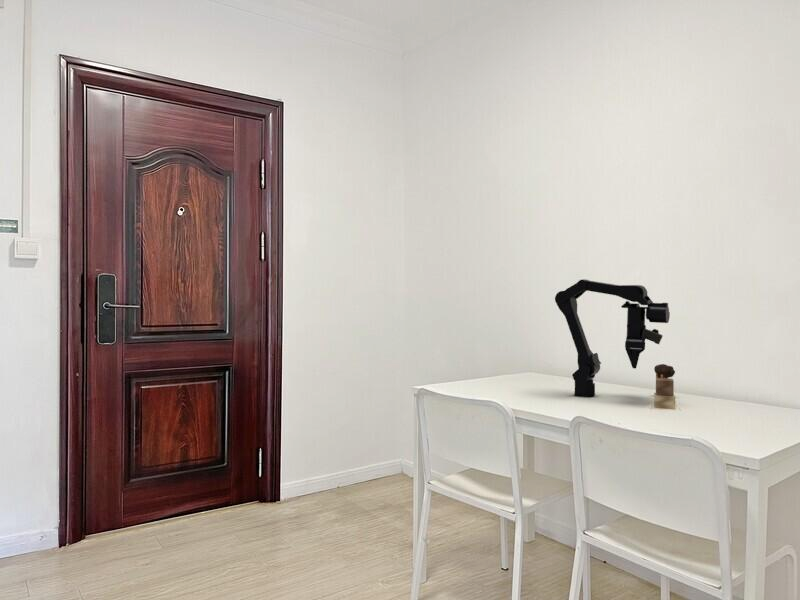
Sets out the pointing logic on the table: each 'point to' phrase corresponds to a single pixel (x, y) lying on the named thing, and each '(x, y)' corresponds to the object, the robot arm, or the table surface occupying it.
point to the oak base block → (664, 402)
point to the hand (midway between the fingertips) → (634, 366)
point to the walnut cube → (664, 387)
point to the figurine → (664, 371)
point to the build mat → (665, 409)
